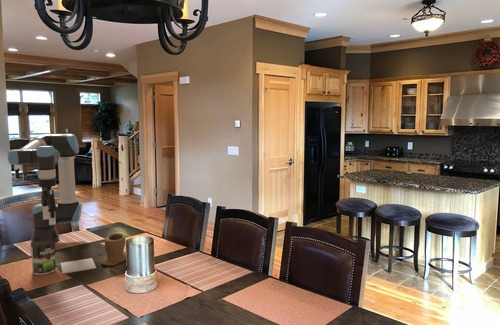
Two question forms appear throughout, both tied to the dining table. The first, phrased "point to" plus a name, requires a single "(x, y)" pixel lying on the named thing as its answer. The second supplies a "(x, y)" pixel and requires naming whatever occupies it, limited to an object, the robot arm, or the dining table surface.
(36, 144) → the robot arm
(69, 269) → the grey mat
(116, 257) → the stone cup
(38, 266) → the coffee can
